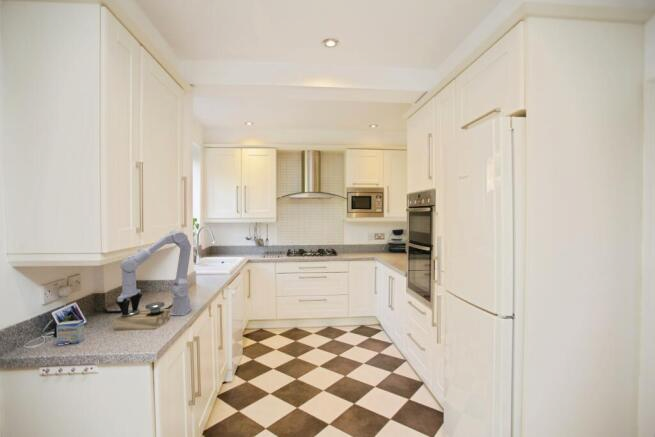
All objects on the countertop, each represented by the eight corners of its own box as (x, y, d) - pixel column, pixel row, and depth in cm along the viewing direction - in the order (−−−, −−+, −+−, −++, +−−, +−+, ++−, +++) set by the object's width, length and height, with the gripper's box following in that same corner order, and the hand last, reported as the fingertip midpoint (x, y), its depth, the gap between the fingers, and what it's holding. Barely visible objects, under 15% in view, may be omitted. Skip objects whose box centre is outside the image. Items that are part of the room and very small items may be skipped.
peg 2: (151, 311, 151) (151, 302, 151) (167, 311, 151) (167, 301, 151) (142, 317, 143) (141, 307, 143) (159, 316, 143) (159, 307, 143)
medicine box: (56, 346, 124) (55, 325, 124) (62, 341, 129) (62, 321, 128) (79, 343, 126) (78, 322, 126) (84, 339, 131) (84, 319, 130)
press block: (131, 319, 153) (131, 309, 153) (169, 318, 154) (169, 309, 153) (114, 329, 140) (113, 319, 140) (155, 329, 141) (155, 318, 140)
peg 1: (127, 318, 151) (127, 309, 151) (143, 318, 151) (143, 309, 151) (116, 324, 143) (116, 315, 143) (133, 324, 143) (133, 314, 143)
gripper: (130, 280, 153) (131, 307, 154) (110, 288, 139) (111, 317, 139) (144, 280, 154) (145, 307, 154) (126, 287, 139) (127, 317, 139)
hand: (130, 312), depth 147 cm, fingers open, 7 cm apart
